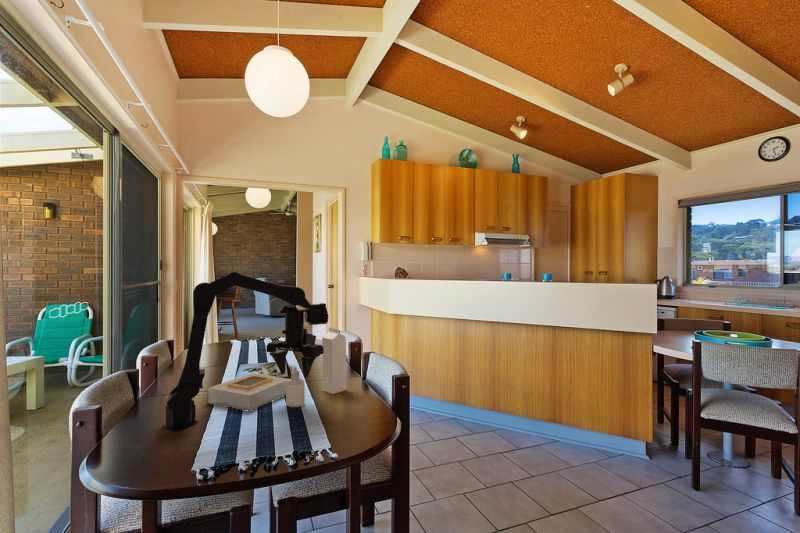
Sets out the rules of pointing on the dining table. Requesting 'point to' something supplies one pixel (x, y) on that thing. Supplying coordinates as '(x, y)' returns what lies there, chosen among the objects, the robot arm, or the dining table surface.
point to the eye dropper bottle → (295, 390)
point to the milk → (334, 361)
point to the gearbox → (247, 391)
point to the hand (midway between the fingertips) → (294, 375)
